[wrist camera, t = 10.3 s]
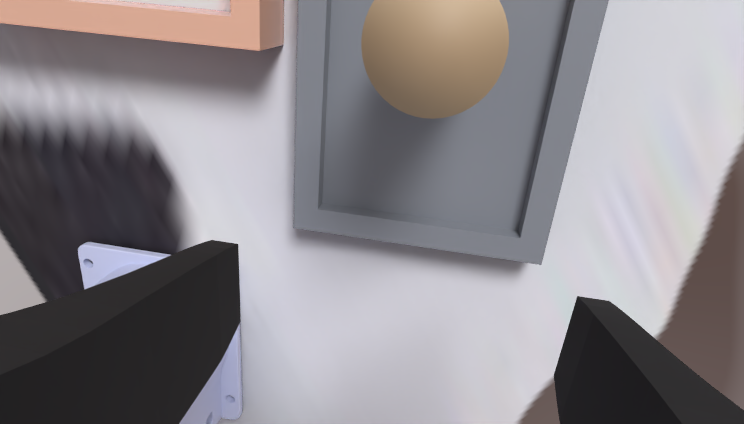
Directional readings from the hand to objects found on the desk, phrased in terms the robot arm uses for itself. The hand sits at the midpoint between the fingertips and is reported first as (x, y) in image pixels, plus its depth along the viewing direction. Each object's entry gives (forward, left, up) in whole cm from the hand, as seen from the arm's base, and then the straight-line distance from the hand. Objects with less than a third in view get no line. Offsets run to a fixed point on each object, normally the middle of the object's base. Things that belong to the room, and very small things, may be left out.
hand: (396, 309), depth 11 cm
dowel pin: (+5, 0, -10) cm, 11 cm away
